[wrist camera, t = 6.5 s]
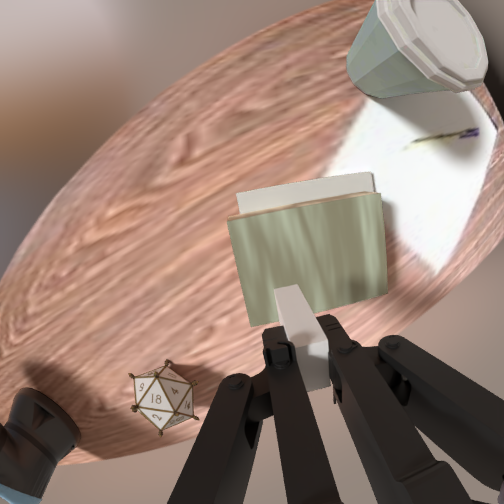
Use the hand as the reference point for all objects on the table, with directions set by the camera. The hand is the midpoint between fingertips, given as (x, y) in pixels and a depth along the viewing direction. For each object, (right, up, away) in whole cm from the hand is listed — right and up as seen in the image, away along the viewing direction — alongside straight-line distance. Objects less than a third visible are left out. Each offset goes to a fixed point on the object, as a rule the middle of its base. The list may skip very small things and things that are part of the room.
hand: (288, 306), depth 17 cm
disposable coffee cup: (+11, +23, +7) cm, 26 cm away
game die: (-13, -12, +15) cm, 23 cm away
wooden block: (-3, +2, +9) cm, 10 cm away
